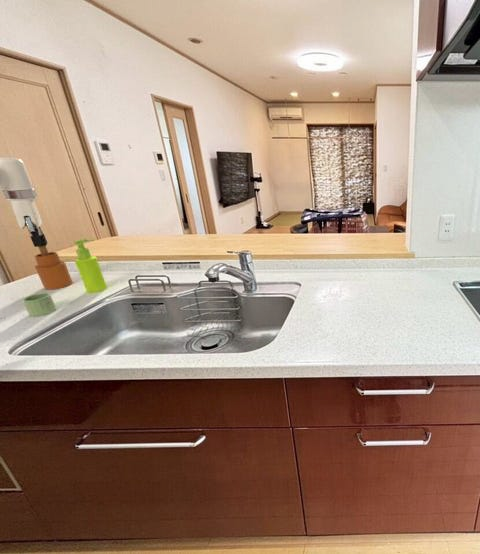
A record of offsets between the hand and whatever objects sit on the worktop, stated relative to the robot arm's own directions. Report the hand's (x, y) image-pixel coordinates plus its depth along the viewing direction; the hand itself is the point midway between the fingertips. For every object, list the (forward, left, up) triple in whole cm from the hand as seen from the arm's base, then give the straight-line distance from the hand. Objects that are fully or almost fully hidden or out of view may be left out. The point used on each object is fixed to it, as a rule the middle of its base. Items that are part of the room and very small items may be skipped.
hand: (41, 244), depth 111 cm
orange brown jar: (0, 0, -17) cm, 17 cm away
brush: (0, 0, -13) cm, 13 cm away
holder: (-2, -28, -17) cm, 33 cm away
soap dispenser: (+12, -16, -17) cm, 26 cm away
